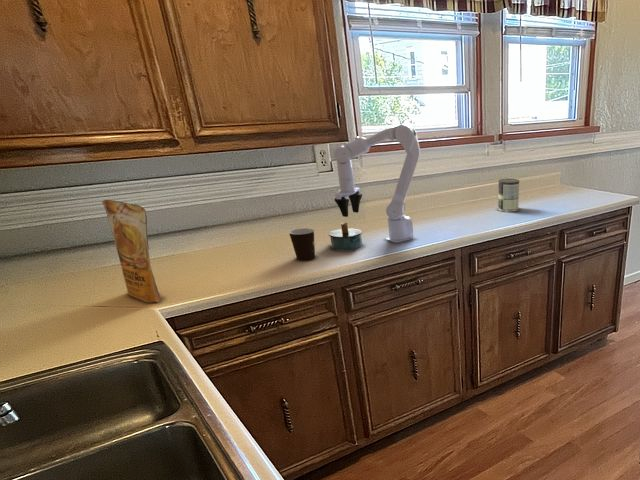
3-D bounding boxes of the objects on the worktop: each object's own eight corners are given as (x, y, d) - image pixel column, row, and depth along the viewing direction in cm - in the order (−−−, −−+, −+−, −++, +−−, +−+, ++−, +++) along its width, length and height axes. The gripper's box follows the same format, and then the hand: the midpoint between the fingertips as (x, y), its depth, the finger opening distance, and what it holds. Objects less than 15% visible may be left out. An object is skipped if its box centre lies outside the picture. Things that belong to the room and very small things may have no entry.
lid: (352, 229, 209) (351, 217, 206) (368, 235, 200) (366, 223, 198) (323, 234, 202) (321, 223, 199) (338, 241, 193) (336, 229, 191)
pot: (350, 240, 212) (348, 227, 210) (371, 249, 201) (369, 235, 198) (324, 245, 206) (322, 231, 203) (343, 255, 194) (341, 241, 192)
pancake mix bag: (143, 287, 165) (113, 197, 152) (175, 299, 156) (146, 204, 143) (120, 293, 160) (87, 201, 147) (152, 306, 151) (120, 209, 138)
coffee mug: (311, 262, 187) (306, 235, 182) (289, 261, 188) (284, 233, 183) (325, 253, 197) (321, 226, 192) (305, 251, 198) (300, 225, 193)
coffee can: (494, 210, 259) (494, 180, 253) (505, 206, 267) (505, 177, 260) (511, 212, 254) (512, 182, 247) (522, 208, 262) (523, 179, 255)
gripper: (347, 175, 208) (352, 209, 215) (326, 181, 196) (331, 217, 203) (363, 176, 206) (366, 211, 213) (342, 182, 194) (347, 219, 201)
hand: (350, 214), depth 208 cm, fingers open, 7 cm apart
